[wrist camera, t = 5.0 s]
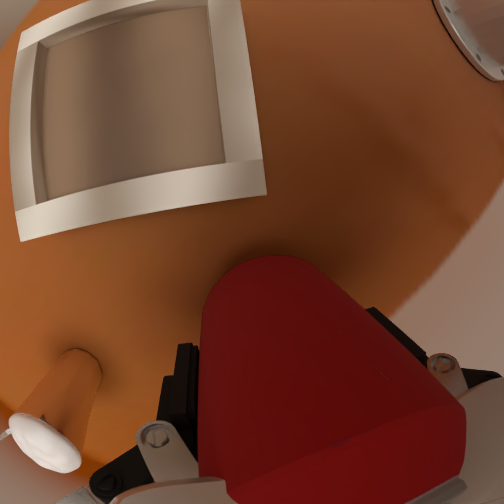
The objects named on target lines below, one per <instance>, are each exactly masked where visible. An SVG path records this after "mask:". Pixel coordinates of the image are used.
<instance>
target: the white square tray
mask: <svg viewBox="0 0 504 504" xmlns="http://www.w3.org/2000/svg"><path fill="white" fill-rule="evenodd" d="M9 146H10V169H11V182H12V191H13V200H14V207H15V214H16V220H17V226H18V231H19V236H20V241H21V242H22V241H26V240H30V239H34V238H38V237H41V236H45V235H49V234H53V233H57V232H61V231H66V230H70V229H74V228H78V227H83V226H87V225H92V224H96V223H101V222H106V221H110V220H115V219H120V218H125V217H130V216H135V215H141V214H146V213H151V212H157V211H162V210H168V209H174V208H180V207H186V206H192V205H198V204H204V203H211V202H218V201H224V200H232V199H239V198H246V197H254V196H262V195H267V190H266V182H265V173H264V165H263V157H262V149H261V141H260V133H259V126H258V118H257V111H256V103H255V96H254V89H253V82H252V75H251V68H250V61H249V54H248V48H247V41H246V35H245V28H244V22H243V16H242V10H241V3H240V0H90V1H88V2H85V3H82V4H80V5H77V6H75V7H72V8H70V9H67V10H65V11H63V12H61V13H58V14H56V15H54V16H52V17H50V18H48V19H46V20H44V21H42V22H40V23H38V24H36V25H34V26H32V27H30V28H29V29H27V30H25V31H23V32H22V33H21V37H20V42H19V46H18V51H17V57H16V62H15V69H14V76H13V83H12V93H11V105H10V128H9Z"/></svg>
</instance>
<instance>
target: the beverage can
mask: <svg viewBox="0 0 504 504" xmlns="http://www.w3.org/2000/svg"><path fill="white" fill-rule="evenodd" d="M466 432H467V421H466V412H465V408H464V407H463V406H462V405H461V404H460V403H459V402H458V401H457V399H456V398H455V397H454V396H453V395H452V394H451V393H450V392H449V391H448V390H447V389H446V388H445V387H444V386H443V385H442V384H441V383H440V382H439V381H438V380H437V379H436V378H435V377H434V376H433V375H432V374H431V373H430V371H429V370H428V369H427V368H426V367H425V366H424V365H423V364H422V363H421V362H420V361H419V360H418V359H417V358H416V357H415V356H414V355H413V354H412V353H410V352H409V351H408V350H407V349H406V348H405V347H404V346H403V345H402V344H401V343H400V342H399V341H398V340H397V339H396V338H395V337H394V336H393V335H392V334H391V333H390V332H388V331H387V330H386V329H385V328H384V327H383V326H382V325H381V324H380V323H379V322H378V321H377V320H376V319H375V318H374V317H372V316H371V315H370V314H369V313H368V312H367V311H366V310H365V309H364V308H363V307H361V306H360V305H359V304H358V303H357V302H356V301H355V300H354V299H352V298H351V297H350V296H349V295H348V294H347V293H346V292H345V291H343V290H342V289H341V288H340V287H339V286H338V285H337V284H335V283H334V282H333V281H332V280H331V279H330V278H328V277H327V276H326V275H325V274H324V273H322V272H321V271H320V270H319V269H318V268H317V267H315V266H314V265H312V264H310V263H309V262H307V261H304V260H302V259H299V258H296V257H292V256H285V255H268V256H262V257H257V258H254V259H251V260H248V261H246V262H243V263H241V264H239V265H238V266H236V267H234V268H233V269H231V270H230V271H229V272H227V273H226V274H225V275H224V276H223V277H222V278H221V279H220V280H219V281H218V282H217V283H216V284H215V286H214V287H213V288H212V290H211V291H210V293H209V295H208V297H207V299H206V302H205V305H204V308H203V313H202V322H201V335H200V350H199V373H198V469H199V477H209V476H212V477H217V478H220V479H223V480H225V484H226V492H227V494H228V495H229V496H230V498H231V499H232V500H234V501H235V502H236V503H238V504H446V503H448V502H450V501H451V500H453V499H454V498H456V497H457V496H459V495H460V494H462V493H463V492H464V491H466V489H467V488H468V487H467V486H466V484H465V482H464V480H462V479H460V478H458V477H459V474H460V471H461V468H462V466H463V463H464V457H465V449H466Z"/></svg>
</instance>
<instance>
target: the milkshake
mask: <svg viewBox="0 0 504 504" xmlns="http://www.w3.org/2000/svg"><path fill="white" fill-rule="evenodd" d="M101 376H102V371H101V368H100V366H99V363H98V361H97V360H96V359H94V358H93V357H92V356H91V355H90V354H89V353H88V352H86V351H82V350H79V349H76V348H74V349H72V350H69V351H66V352H65V353H64V354H63V355H62V356H61V358H60V359H59V360H58V361H57V362H56V363H55V365H54V366H53V367H52V368H51V369H50V370H49V372H48V373H47V374H46V375H45V376H44V378H43V379H42V380H41V381H40V383H39V384H38V385H37V386H36V388H35V389H34V390H33V391H32V393H31V394H30V395H29V396H28V397H27V398H26V400H25V401H24V402H23V403H22V404H21V405H20V407H19V408H18V409H17V410H16V411H15V413H14V414H13V415H12V416H11V417H10V419H9V426H10V428H8V429H7V430H5V431H4V432H2V433H1V434H0V441H1V440H2V439H4V438H5V437H7V436H8V435H10V434H11V433H12V436H13V438H14V440H15V441H16V442H17V444H18V446H19V447H20V448H21V450H22V451H23V452H24V453H25V454H27V455H28V456H29V457H30V458H31V459H33V460H34V461H35V462H36V463H37V464H39V465H40V466H42V467H44V468H47V469H51V470H54V471H57V472H60V473H68V472H71V471H73V470H75V469H77V468H78V467H79V466H80V465H81V459H82V454H83V448H84V442H85V437H86V432H87V426H88V421H89V417H90V413H91V409H92V406H93V402H94V399H95V395H96V392H97V389H98V386H99V382H100V379H101Z"/></svg>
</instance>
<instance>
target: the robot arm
mask: <svg viewBox="0 0 504 504" xmlns="http://www.w3.org/2000/svg"><path fill="white" fill-rule="evenodd" d="M433 1H434V4H435V7H436V9H437V12H438V14H439V16H440V18H441V20H442V22H443V23H444V25H445V27H446V29H447V30H448V32H449V34H450V35H451V37H452V38H453V40H454V41H455V43H456V44H457V46H458V47H459V48H460V50H461V51H462V52H463V54H464V55H465V56H466V57H467V59H468V60H469V61H470V62H471V64H472V65H473V66H474V67H475V68H476V69H477V70H478V71H479V72H480V73H481V74H483V75H484V76H485V77H487V78H488V79H490V80H492V81H501V80H504V0H433ZM365 310H366V311H367V312H368V313H369V314H370V315H371V316H372V317H374V318H375V319H376V320H377V321H378V322H379V323H380V324H381V325H382V326H383V327H384V328H385V329H386V330H387V331H388V332H390V333H391V334H392V335H393V336H394V337H395V338H396V339H397V340H398V341H399V342H400V343H401V344H402V345H403V346H404V347H405V348H406V349H407V350H408V351H409V352H410V353H412V354H413V355H414V356H415V357H416V358H417V359H418V360H419V361H420V362H421V363H422V364H423V365H424V366H425V367H426V368H427V369H428V370H429V371H430V373H431V374H432V375H433V376H434V377H435V378H436V379H437V380H438V381H439V382H440V383H441V384H442V385H443V386H444V387H445V388H446V389H447V390H448V391H449V392H450V393H451V394H452V395H453V396H454V397H455V398H456V399H457V401H458V402H459V403H460V404H461V405H462V406H463V407H464V408H465V412H466V421H467V432H466V449H465V457H464V463H463V466H462V468H461V471H460V474H459V477H458V478H460V479H462V480H464V482H465V484H466V486H467V487H468V488H467V489H466V491H464V492H463V493H462V494H460V495H459V496H457V497H456V498H454V499H453V500H451V501H450V502H448V503H446V504H504V377H502V376H501V375H500V374H498V373H496V372H493V371H486V370H475V369H466V368H460V366H459V363H458V361H457V360H456V358H454V357H453V356H451V355H449V354H445V353H438V354H434V355H432V356H430V358H428V357H427V356H426V352H425V351H423V350H422V348H420V347H419V346H418V345H417V344H416V343H415V342H414V341H413V340H411V339H410V338H409V337H408V336H407V335H406V334H405V333H404V332H402V331H401V330H400V329H399V328H398V327H397V326H396V325H394V324H393V323H392V322H391V321H390V320H389V319H388V318H387V317H385V316H384V315H383V314H382V313H381V312H380V311H378V310H377V309H376V308H375V307H372V308H368V309H365ZM198 373H199V349H198V346H197V345H196V346H193V344H192V343H184V344H178V349H177V355H176V362H175V369H174V375H170V376H165V377H164V379H163V383H162V389H161V395H160V401H159V407H158V413H157V419H156V421H152V422H148V423H146V424H144V425H143V426H142V427H141V428H140V429H139V430H138V432H137V434H136V442H137V444H138V445H136V446H135V447H133V448H132V449H130V450H129V451H127V452H126V453H124V454H123V455H121V456H119V457H118V458H116V459H115V460H113V461H112V462H110V463H108V464H107V465H105V466H103V467H102V468H100V469H99V470H97V471H96V472H95V473H93V475H92V476H91V478H90V481H89V486H88V487H86V488H84V487H83V486H82V487H80V488H79V489H77V490H76V491H74V492H73V493H71V494H69V495H68V496H66V497H65V498H63V499H61V500H60V501H58V502H56V503H55V504H238V503H236V502H235V501H234V500H232V499H231V498H230V496H229V495H228V494H227V492H226V484H225V480H223V479H220V478H217V477H212V476H209V477H199V469H198Z"/></svg>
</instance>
